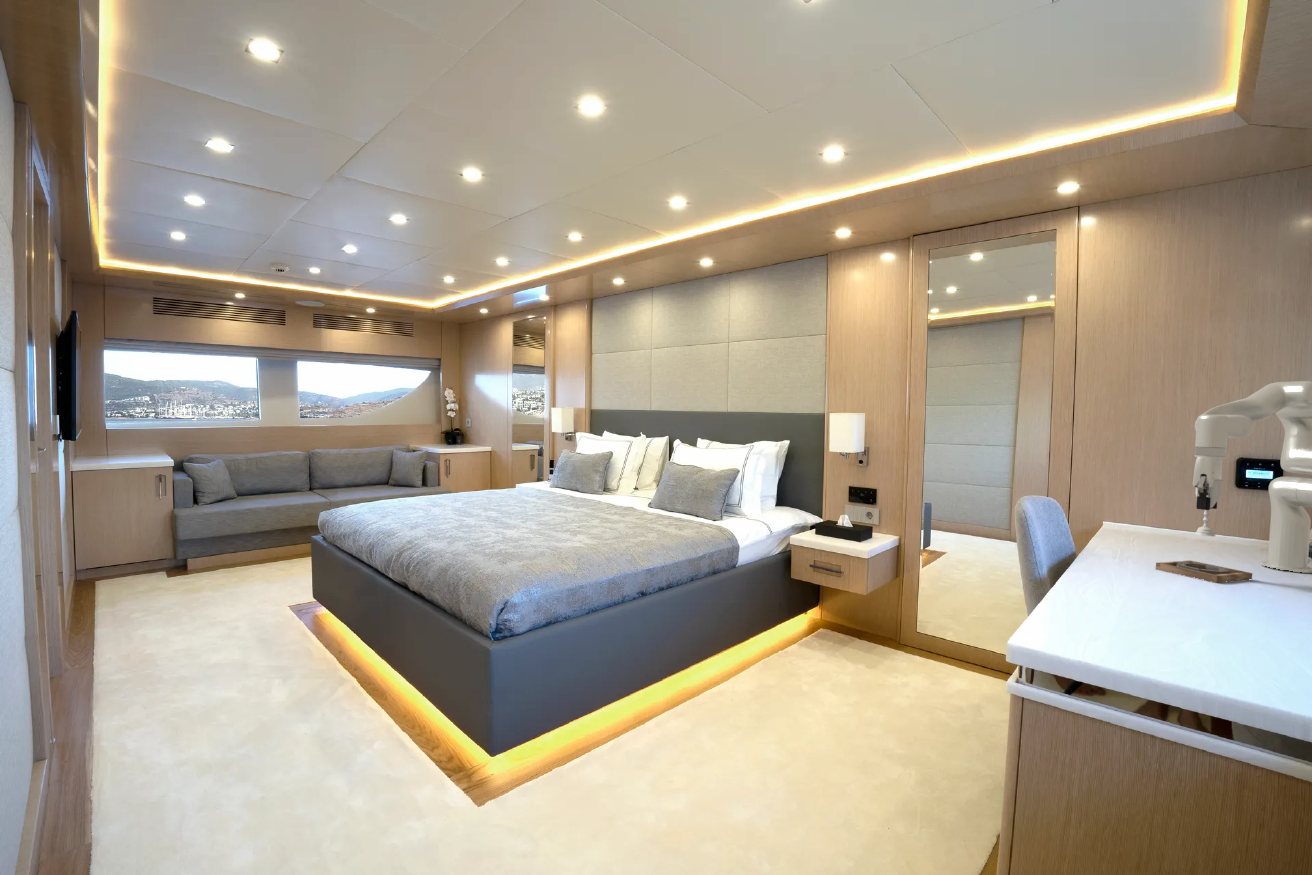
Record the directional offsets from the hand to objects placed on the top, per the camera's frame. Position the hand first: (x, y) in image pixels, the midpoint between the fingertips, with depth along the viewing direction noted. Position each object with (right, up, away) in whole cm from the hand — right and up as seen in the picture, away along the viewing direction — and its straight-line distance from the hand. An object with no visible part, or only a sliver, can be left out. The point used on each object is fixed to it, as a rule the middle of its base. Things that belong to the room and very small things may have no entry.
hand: (1206, 508), depth 196 cm
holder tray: (-1, -21, +1) cm, 21 cm away
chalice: (0, -9, 0) cm, 9 cm away
